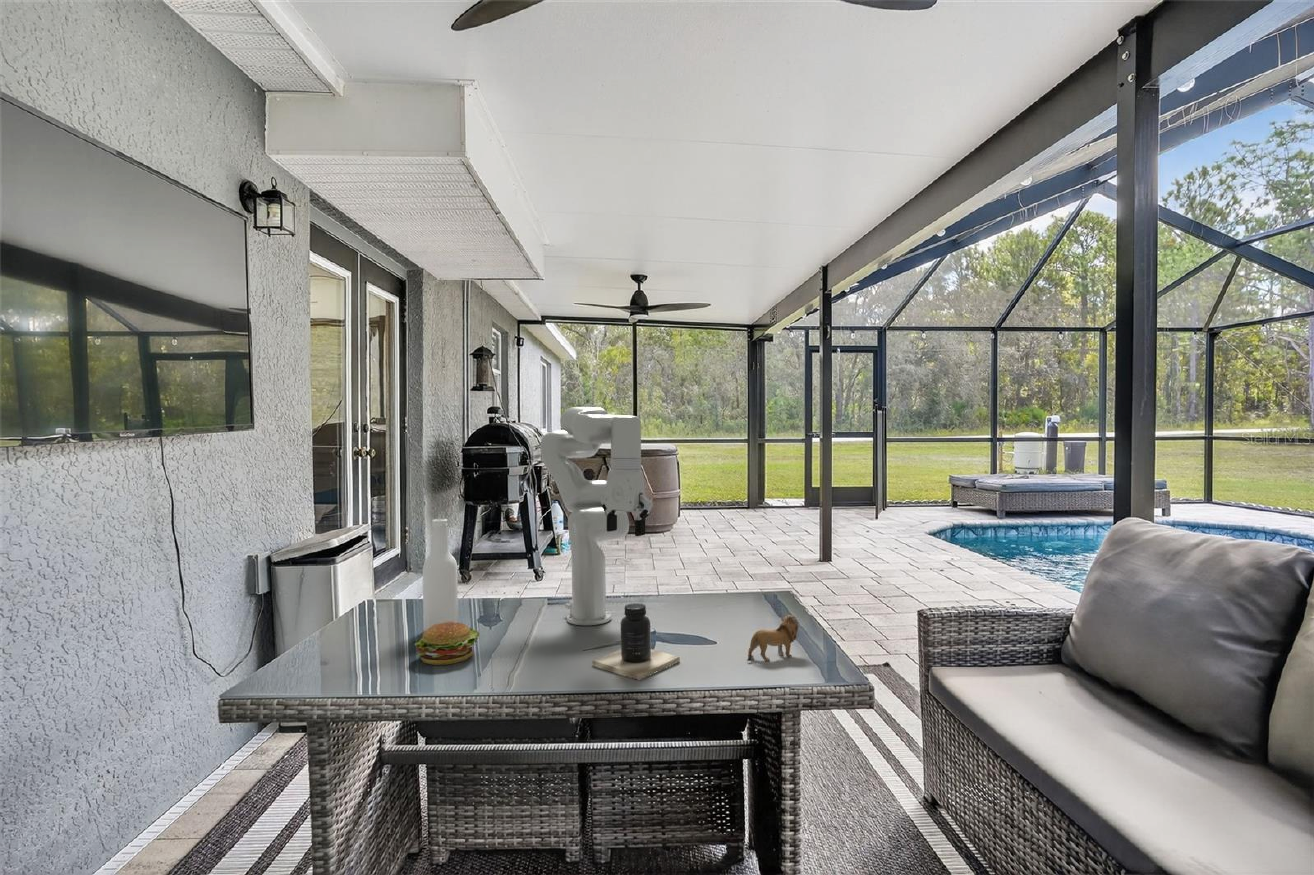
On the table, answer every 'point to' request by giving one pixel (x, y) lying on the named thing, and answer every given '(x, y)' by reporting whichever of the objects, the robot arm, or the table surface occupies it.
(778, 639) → the lion figurine
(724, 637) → the table surface
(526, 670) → the table surface
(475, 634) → the food
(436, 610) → the alcohol
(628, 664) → the birch board
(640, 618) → the supplement bottle
